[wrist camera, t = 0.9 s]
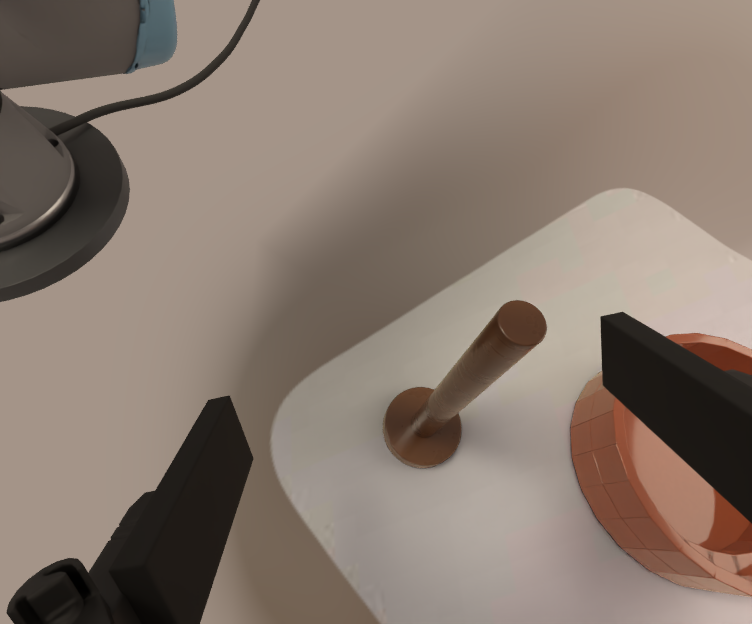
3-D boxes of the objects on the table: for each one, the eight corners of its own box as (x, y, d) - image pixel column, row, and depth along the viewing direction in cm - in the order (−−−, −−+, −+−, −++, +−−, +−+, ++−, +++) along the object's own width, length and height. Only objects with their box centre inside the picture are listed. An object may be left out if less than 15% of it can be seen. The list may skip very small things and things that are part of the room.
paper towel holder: (388, 386, 36) (453, 245, 18) (458, 399, 36) (591, 273, 18) (377, 460, 33) (441, 380, 15) (453, 474, 33) (603, 411, 16)
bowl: (562, 345, 40) (603, 314, 34) (747, 381, 40) (818, 356, 34) (572, 566, 31) (629, 574, 26) (804, 607, 32) (910, 625, 26)
